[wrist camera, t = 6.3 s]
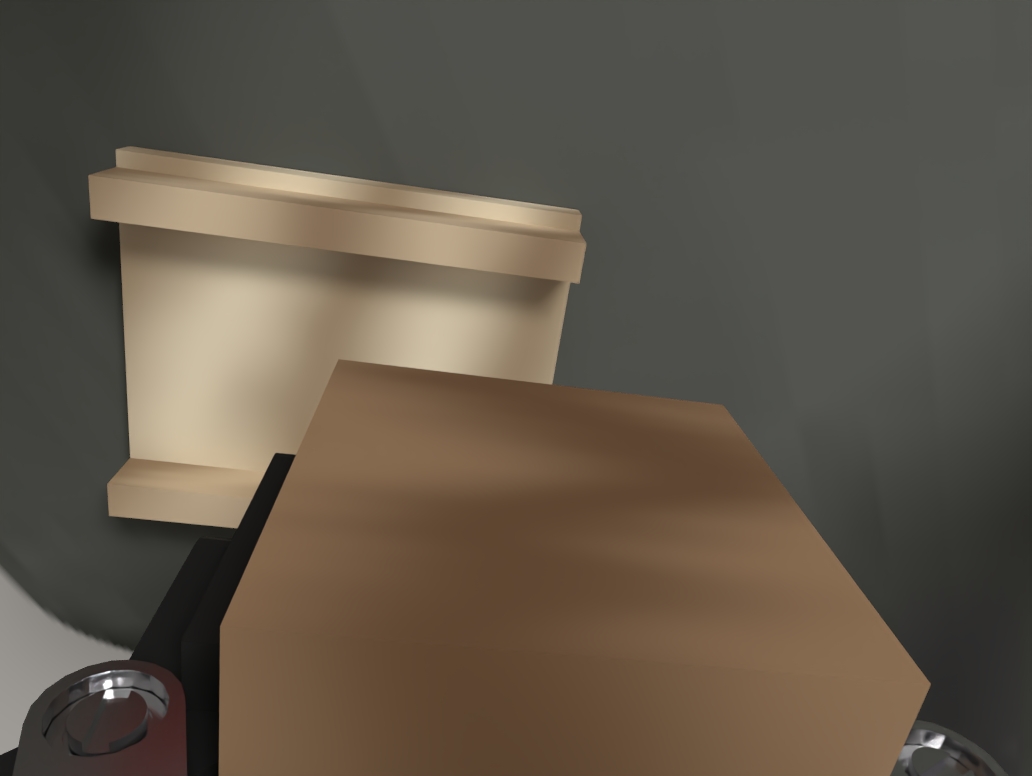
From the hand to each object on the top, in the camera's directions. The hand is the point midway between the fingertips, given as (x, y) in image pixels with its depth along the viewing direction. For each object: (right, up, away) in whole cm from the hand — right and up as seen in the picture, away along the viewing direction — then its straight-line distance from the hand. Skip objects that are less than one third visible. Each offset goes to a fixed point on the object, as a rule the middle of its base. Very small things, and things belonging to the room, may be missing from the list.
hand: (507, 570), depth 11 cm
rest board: (-6, +4, +15) cm, 17 cm away
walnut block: (0, 0, 0) cm, 1 cm away
